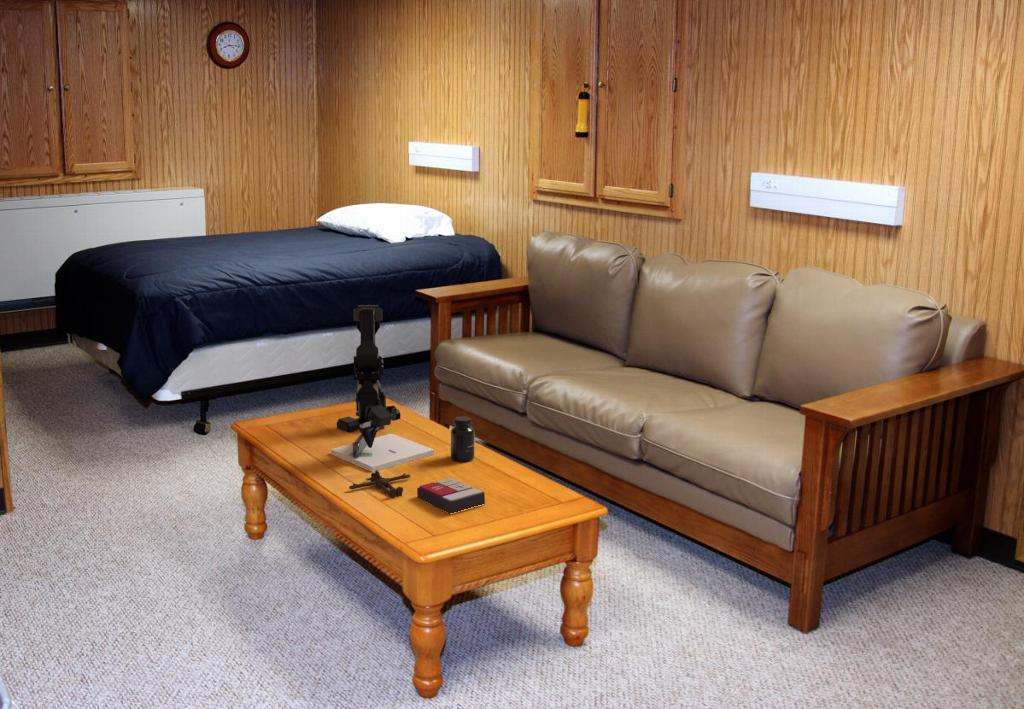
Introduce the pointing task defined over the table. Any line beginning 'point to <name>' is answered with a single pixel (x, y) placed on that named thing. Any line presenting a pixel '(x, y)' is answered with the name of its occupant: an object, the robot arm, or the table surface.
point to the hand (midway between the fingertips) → (369, 447)
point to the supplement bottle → (462, 440)
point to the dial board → (384, 453)
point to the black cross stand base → (383, 484)
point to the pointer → (359, 446)
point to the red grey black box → (451, 495)
